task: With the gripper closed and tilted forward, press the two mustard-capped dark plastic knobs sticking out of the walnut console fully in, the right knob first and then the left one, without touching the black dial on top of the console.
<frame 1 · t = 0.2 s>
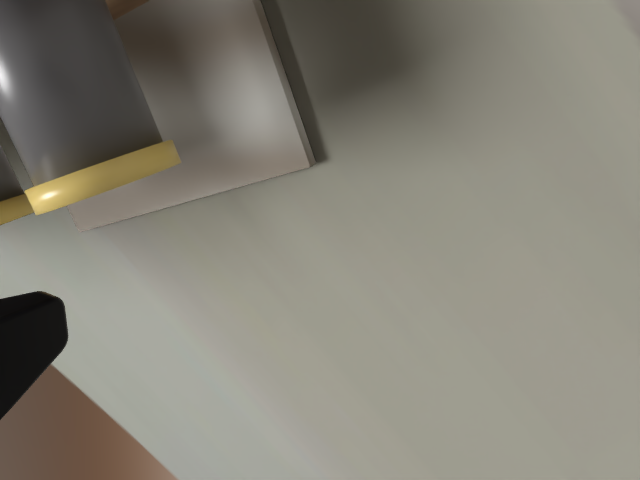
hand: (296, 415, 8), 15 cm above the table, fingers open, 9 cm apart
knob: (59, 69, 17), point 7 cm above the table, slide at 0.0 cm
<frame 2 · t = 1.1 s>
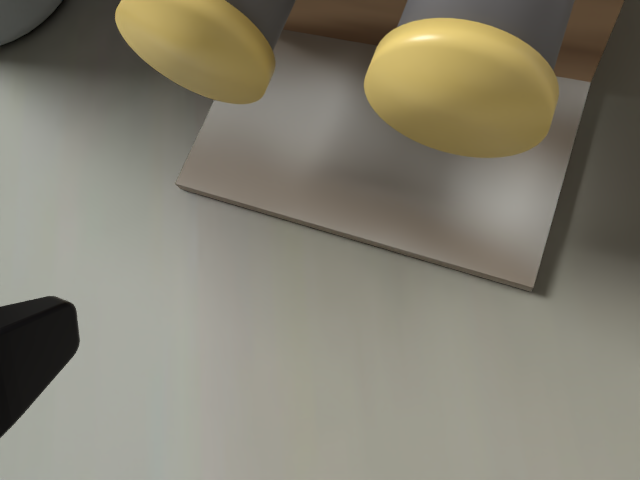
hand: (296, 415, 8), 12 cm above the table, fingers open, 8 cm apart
console: (425, 3, 24), on the table
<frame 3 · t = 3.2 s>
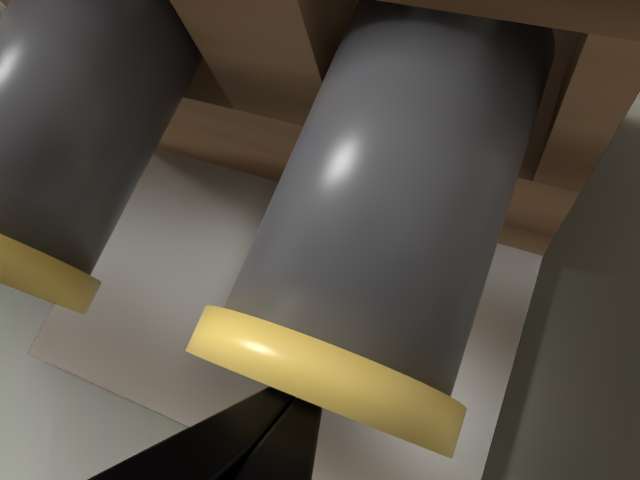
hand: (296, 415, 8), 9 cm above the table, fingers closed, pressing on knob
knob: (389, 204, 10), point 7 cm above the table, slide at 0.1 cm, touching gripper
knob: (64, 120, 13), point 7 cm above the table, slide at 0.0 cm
console: (349, 128, 20), on the table
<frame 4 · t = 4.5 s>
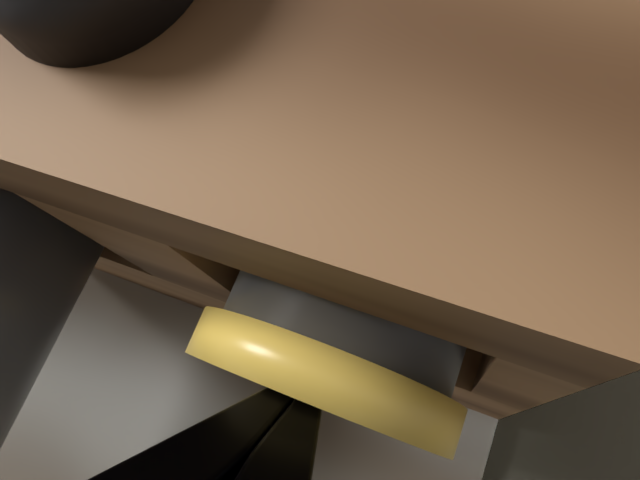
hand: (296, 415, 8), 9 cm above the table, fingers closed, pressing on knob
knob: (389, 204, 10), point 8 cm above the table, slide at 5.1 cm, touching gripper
console: (299, 251, 19), on the table
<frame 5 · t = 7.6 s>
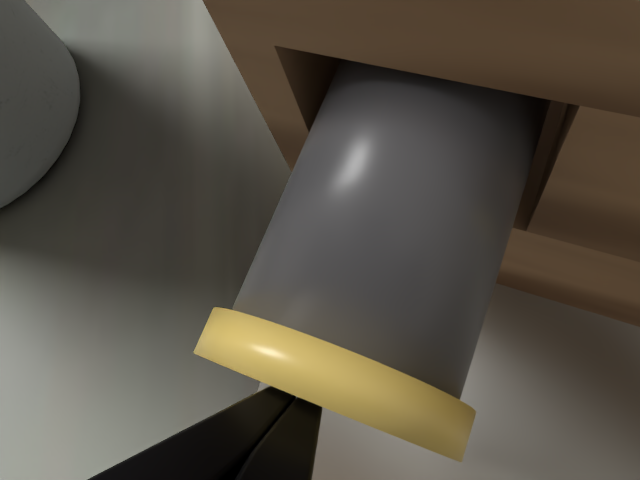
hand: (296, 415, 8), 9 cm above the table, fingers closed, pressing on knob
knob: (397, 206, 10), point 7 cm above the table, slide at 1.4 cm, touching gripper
console: (576, 218, 17), on the table
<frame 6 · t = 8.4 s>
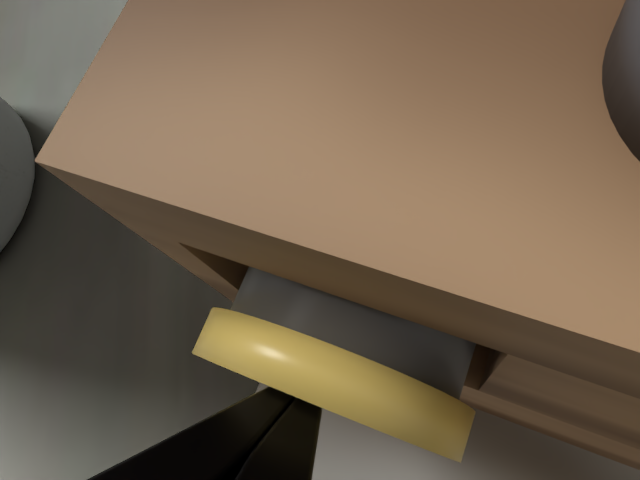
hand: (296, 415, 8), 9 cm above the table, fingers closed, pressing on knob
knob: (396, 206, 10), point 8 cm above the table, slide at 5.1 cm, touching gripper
console: (546, 327, 16), on the table
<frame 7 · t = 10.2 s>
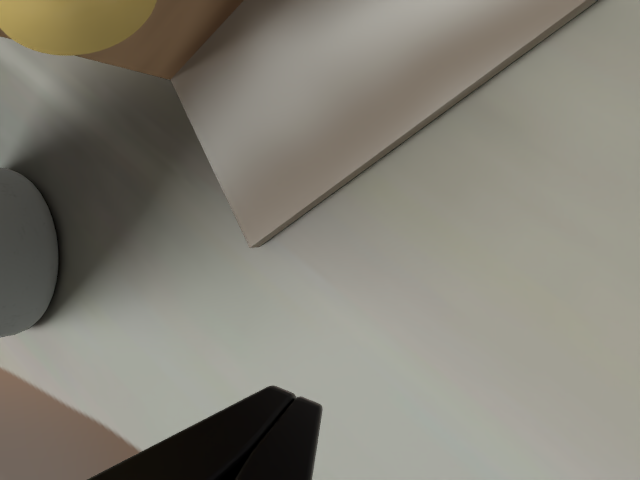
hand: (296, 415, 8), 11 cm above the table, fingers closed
water bottle: (19, 253, 33), on the table
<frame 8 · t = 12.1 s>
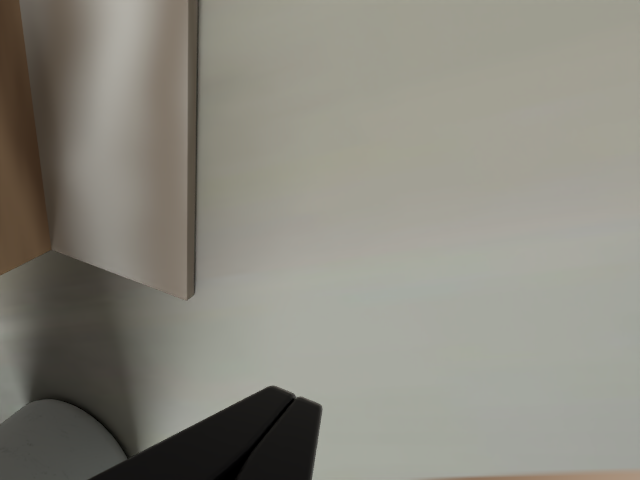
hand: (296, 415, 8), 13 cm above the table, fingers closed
water bottle: (86, 452, 37), on the table
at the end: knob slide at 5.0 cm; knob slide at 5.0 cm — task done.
